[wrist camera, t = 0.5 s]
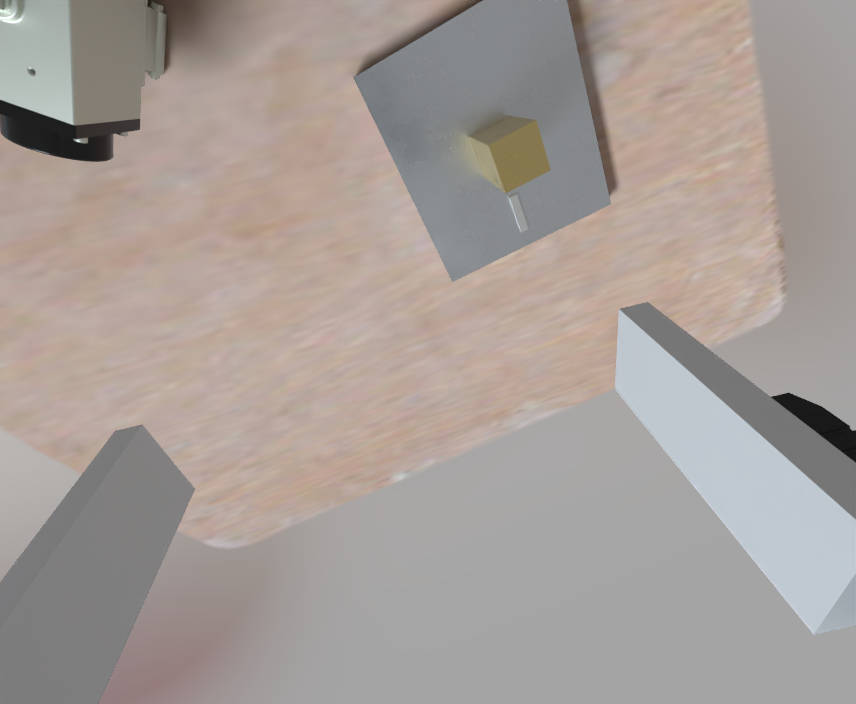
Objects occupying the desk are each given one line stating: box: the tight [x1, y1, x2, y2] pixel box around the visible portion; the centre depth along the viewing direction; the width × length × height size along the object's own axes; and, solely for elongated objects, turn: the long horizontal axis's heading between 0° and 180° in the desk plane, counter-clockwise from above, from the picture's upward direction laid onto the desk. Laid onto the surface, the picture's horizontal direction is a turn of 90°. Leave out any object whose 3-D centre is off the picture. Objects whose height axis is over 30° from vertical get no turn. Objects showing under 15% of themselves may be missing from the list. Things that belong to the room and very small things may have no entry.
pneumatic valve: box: [0, 0, 167, 162], centre depth 20 cm, size 6×12×12 cm, turn 159°
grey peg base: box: [353, 0, 611, 282], centre depth 28 cm, size 16×14×7 cm
